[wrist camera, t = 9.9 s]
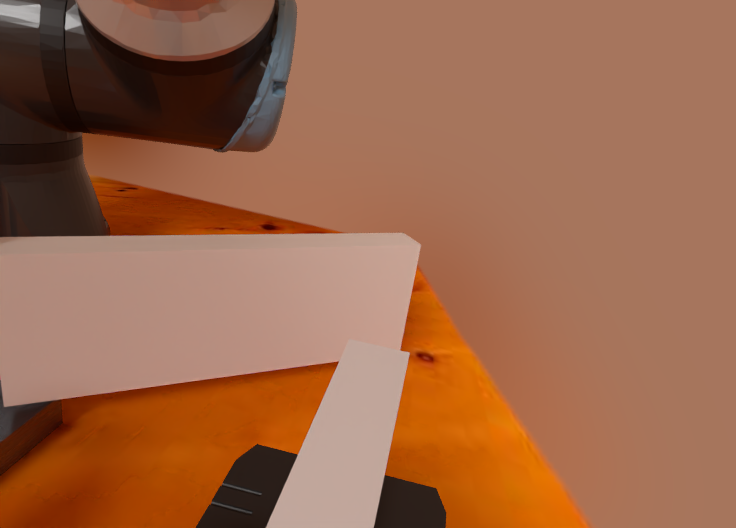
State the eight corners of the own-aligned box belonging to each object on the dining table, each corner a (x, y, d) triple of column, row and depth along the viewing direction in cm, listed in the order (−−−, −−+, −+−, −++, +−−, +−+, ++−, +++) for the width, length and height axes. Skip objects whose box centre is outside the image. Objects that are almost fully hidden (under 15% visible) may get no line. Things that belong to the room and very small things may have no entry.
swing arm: (3, 406, 22) (-15, 255, 20) (9, 380, 24) (-8, 237, 21) (399, 352, 32) (421, 244, 29) (384, 336, 33) (403, 232, 31)
